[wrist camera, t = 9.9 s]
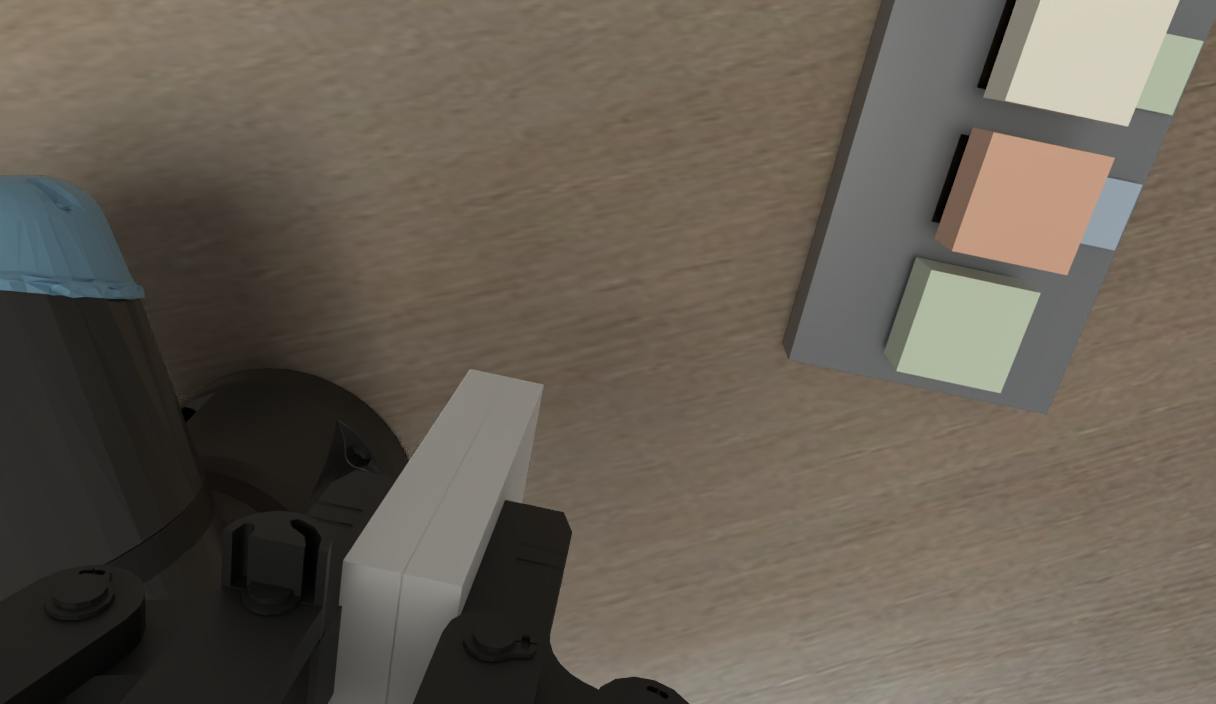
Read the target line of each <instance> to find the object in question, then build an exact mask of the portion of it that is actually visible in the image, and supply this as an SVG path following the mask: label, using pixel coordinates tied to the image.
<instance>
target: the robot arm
mask: <svg viewBox="0 0 1216 704" xmlns="http://www.w3.org/2000/svg"><path fill="white" fill-rule="evenodd" d="M140 298H145V293H144V289H143V287H142V286H141V285H139V284H138V283H136V282H134V281H133V279H132V276H131V274H130V272H129V269H128V267H127V265H126V263H125V260H124V258H123V256H122V253H121V251H120V249H119V246H118V244H117V242H116V239H115V237H114V235H113V232H112V230H111V228H110V225H109V223H108V221H107V218H106V216H105V214H104V212H103V211H102V209H101V207H100V206H99V205H98V203H97V202H96V201H95V200H94V199H93V198H92V197H91V196H90V195H89V194H88V193H87V192H85V191H84V190H83V189H81V188H79V187H78V186H76V185H74V184H72V183H70V182H68V181H65V180H62V179H59V178H54V177H49V176H41V175H11V176H0V704H328V702H329V704H689V703H688V702H687V701H686V700H685V699H683V698H682V697H681V696H680V695H679V694H678V693H677V692H676V691H675V690H673V689H671V688H669V687H667V686H665V685H663V684H661V683H659V682H657V681H655V680H649V679H644V678H638V677H629V678H620V679H615V680H613V681H611V682H609V683H607V684H605V685H604V686H602V687H600V689H599V690H598V689H596V688H594V687H592V686H590V685H588V684H586V683H584V682H583V681H581V680H580V679H578V678H576V677H575V676H573V675H572V674H570V673H569V672H568V671H567V670H566V669H565V668H564V667H563V666H562V665H561V664H560V663H559V661H558V660H557V658H556V657H555V655H554V654H553V651H552V648H551V644H550V633H551V628H552V624H553V619H554V615H555V610H556V606H557V601H558V596H559V592H560V587H561V582H562V577H563V573H564V568H565V563H566V559H567V554H568V549H569V544H570V540H571V535H572V531H571V528H570V526H569V524H568V521H567V519H566V517H565V514H564V512H560V511H555V510H550V509H546V508H541V507H536V506H532V505H527V504H522V501H523V496H524V490H525V485H526V480H527V474H528V469H529V463H530V458H531V452H532V447H533V441H534V436H535V431H536V425H537V420H538V414H539V409H540V403H541V398H542V392H543V387H544V385H543V384H538V383H534V382H529V381H524V380H520V379H515V378H510V377H506V376H501V375H496V374H492V373H487V372H482V371H478V370H473V369H470V370H469V371H468V373H467V374H466V376H465V377H464V379H463V380H462V382H461V383H460V385H459V386H458V388H457V389H456V391H455V392H454V394H453V395H452V397H451V398H450V400H449V401H448V403H447V404H446V406H445V407H444V409H443V410H442V412H441V413H440V415H439V416H438V418H437V420H436V421H435V423H434V424H433V426H432V427H431V429H430V430H429V432H428V433H427V435H426V436H425V438H424V439H423V441H422V442H421V444H420V445H419V447H418V448H417V450H416V451H415V453H414V454H413V456H412V457H411V459H410V460H409V462H408V461H407V458H406V456H405V454H404V452H403V450H402V448H401V446H400V445H399V443H398V441H397V440H396V438H395V437H394V435H393V434H392V432H391V431H390V430H389V428H388V427H387V426H386V425H385V423H384V422H383V421H382V420H381V419H380V418H379V417H378V416H377V415H376V414H375V413H374V412H373V411H372V410H371V409H370V408H368V407H367V406H366V405H365V404H364V403H363V402H361V401H360V400H358V399H357V398H356V397H354V396H353V395H351V394H350V393H348V392H347V391H345V390H343V389H341V388H339V387H338V386H336V385H334V384H332V383H329V382H327V381H325V380H322V379H320V378H317V377H314V376H311V375H308V374H304V373H300V372H295V371H289V370H281V369H256V370H248V371H242V372H238V373H234V374H231V375H228V376H225V377H223V378H220V379H218V380H216V381H214V382H212V383H211V384H209V385H207V386H206V387H204V388H203V389H201V390H200V391H198V392H197V393H196V394H194V395H193V396H191V397H190V398H189V399H187V400H186V401H184V402H183V403H182V404H180V405H179V403H178V400H177V397H176V395H175V392H174V389H173V386H172V384H171V381H170V378H169V376H168V373H167V370H166V367H165V365H164V362H163V359H162V356H161V354H160V351H159V348H158V346H157V343H156V340H155V337H154V335H153V332H152V329H151V326H150V324H149V321H148V318H147V315H146V313H145V310H144V307H143V305H142V302H141V299H140ZM329 700H330V701H329Z"/></svg>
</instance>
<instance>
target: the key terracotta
mask: <svg viewBox="0 0 1216 704" xmlns="http://www.w3.org/2000/svg"><path fill="white" fill-rule="evenodd" d="M1114 159H1115V158H1114V157H1109V156H1105V155H1101V154H1096V153H1092V152H1088V151H1083V150H1079V149H1074V148H1069V147H1064V146H1060V145H1055V144H1050V143H1045V142H1041V141H1036V140H1031V139H1026V138H1022V137H1017V136H1012V135H1007V134H1003V133H998V132H993V131H988V130H984V129H979V128H974V127H973V128H972V131H971V134H970V137H969V140H968V143H967V146H966V149H965V151H964V154H963V157H962V160H961V163H960V166H959V169H958V172H957V175H956V178H955V181H954V183H953V186H952V189H951V192H950V195H949V198H948V201H947V204H946V207H945V210H944V213H943V215H942V218H941V221H940V224H939V227H938V230H937V233H936V236H935V239H936V240H937V241H939V242H940V243H941V244H943V245H944V246H946V247H947V248H948V249H950V250H951V251H954V252H959V253H964V254H969V255H973V256H978V257H983V258H988V259H992V260H997V261H1002V262H1006V263H1011V264H1016V265H1021V266H1025V267H1030V268H1035V269H1039V270H1044V271H1049V272H1054V273H1058V274H1063V275H1067V274H1068V272H1069V269H1070V267H1071V264H1072V262H1073V260H1074V257H1075V255H1076V252H1077V250H1078V247H1079V245H1080V242H1081V240H1082V238H1083V235H1084V233H1085V230H1086V228H1087V225H1088V223H1089V221H1090V218H1091V216H1092V213H1093V211H1094V208H1095V206H1096V203H1097V201H1098V199H1099V196H1100V194H1101V191H1102V189H1103V186H1104V184H1105V181H1106V179H1107V177H1108V174H1109V172H1110V169H1111V167H1112V164H1113V162H1114Z"/></svg>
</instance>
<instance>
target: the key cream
mask: <svg viewBox="0 0 1216 704" xmlns="http://www.w3.org/2000/svg"><path fill="white" fill-rule="evenodd" d="M1179 1H1180V0H1016V3H1015V6H1014V9H1013V12H1012V15H1011V18H1010V21H1009V24H1008V27H1007V29H1006V32H1005V35H1004V38H1003V41H1002V44H1001V47H1000V50H999V53H998V56H997V59H996V61H995V64H994V67H993V70H992V73H991V76H990V79H989V82H988V85H987V88H986V90H985V93H984V96H983V98H987V99H992V100H997V101H1001V102H1006V103H1011V104H1016V105H1020V106H1025V107H1030V108H1035V109H1039V110H1044V111H1049V112H1054V113H1058V114H1063V115H1068V116H1073V117H1077V118H1082V119H1087V120H1092V121H1096V122H1102V123H1109V124H1115V125H1121V126H1128V125H1129V123H1130V120H1131V118H1132V115H1133V113H1134V111H1135V108H1136V106H1137V103H1138V101H1139V98H1140V96H1141V93H1142V91H1143V89H1144V86H1145V84H1146V81H1147V79H1148V76H1149V74H1150V71H1151V69H1152V67H1153V64H1154V62H1155V59H1156V57H1157V54H1158V52H1159V49H1160V47H1161V45H1162V42H1163V40H1164V37H1165V35H1166V32H1167V30H1168V27H1169V25H1170V23H1171V20H1172V18H1173V15H1174V13H1175V10H1176V8H1177V5H1178V3H1179Z"/></svg>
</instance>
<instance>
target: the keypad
mask: <svg viewBox="0 0 1216 704" xmlns="http://www.w3.org/2000/svg"><path fill="white" fill-rule="evenodd" d="M1005 3H1006V0H882V3H881V6H880V10H879V13H878V17H877V20H876V24H875V27H874V30H873V34H872V37H871V41H870V44H869V48H868V51H867V55H866V58H865V61H864V65H863V68H862V72H861V75H860V79H859V82H858V86H857V89H856V92H855V96H854V99H853V103H852V106H851V110H850V113H849V116H848V120H847V123H846V127H845V130H844V134H843V137H842V141H841V144H840V147H839V151H838V154H837V158H836V161H835V165H834V168H833V172H832V175H831V178H830V182H829V185H828V189H827V192H826V196H825V199H824V203H823V206H822V209H821V213H820V216H819V220H818V223H817V227H816V230H815V234H814V237H813V240H812V244H811V247H810V251H809V254H808V258H807V261H806V265H805V268H804V271H803V275H802V278H801V282H800V285H799V289H798V292H797V295H796V299H795V302H794V306H793V309H792V313H791V316H790V320H789V323H788V326H787V330H786V333H785V337H784V340H783V345H784V348H785V351H786V354H787V356H788V359H789V360H792V361H797V362H802V363H806V364H811V365H816V366H820V367H825V368H830V369H834V370H839V371H844V372H849V373H853V374H858V375H863V376H867V377H872V378H877V379H881V380H886V381H891V382H895V383H900V384H905V385H910V386H914V387H919V388H924V389H928V390H933V391H938V392H942V393H947V394H952V395H956V396H961V397H966V398H971V399H975V400H980V401H985V402H989V403H994V404H999V405H1003V406H1008V407H1013V408H1017V409H1022V410H1027V411H1032V412H1036V413H1041V414H1047V412H1048V410H1049V407H1050V405H1051V402H1052V400H1053V398H1054V395H1055V393H1056V391H1057V388H1058V386H1059V384H1060V381H1061V379H1062V377H1063V374H1064V372H1065V370H1066V367H1067V365H1068V363H1069V360H1070V358H1071V356H1072V353H1073V351H1074V349H1075V346H1076V344H1077V342H1078V339H1079V337H1080V335H1081V332H1082V330H1083V327H1084V325H1085V323H1086V320H1087V318H1088V316H1089V313H1090V311H1091V309H1092V306H1093V304H1094V302H1095V299H1096V297H1097V295H1098V292H1099V290H1100V288H1101V285H1102V283H1103V281H1104V278H1105V276H1106V274H1107V271H1108V269H1109V267H1110V264H1111V262H1112V260H1113V257H1114V255H1115V252H1116V250H1117V248H1118V245H1119V243H1120V241H1121V238H1122V236H1123V234H1124V231H1125V229H1126V227H1127V224H1128V222H1129V220H1130V217H1131V215H1132V213H1133V210H1134V208H1135V206H1136V203H1137V201H1138V199H1139V196H1140V194H1141V192H1142V189H1143V187H1144V185H1145V182H1146V180H1147V177H1148V175H1149V173H1150V170H1151V168H1152V166H1153V163H1154V161H1155V159H1156V156H1157V154H1158V152H1159V149H1160V147H1161V145H1162V142H1163V140H1164V138H1165V135H1166V133H1167V131H1168V128H1169V126H1170V124H1171V121H1172V119H1173V117H1174V114H1175V112H1176V110H1177V107H1178V105H1179V102H1180V100H1181V98H1182V95H1183V93H1184V91H1185V88H1186V86H1187V84H1188V81H1189V79H1190V77H1191V74H1192V72H1193V70H1194V67H1195V65H1196V63H1197V60H1198V58H1199V56H1200V53H1201V51H1202V49H1203V46H1204V44H1205V42H1206V39H1207V37H1208V35H1209V32H1210V30H1211V27H1212V25H1213V23H1214V20H1215V18H1216V0H1180V1H1179V3H1178V5H1177V8H1176V10H1175V13H1174V15H1173V18H1172V20H1171V23H1170V25H1169V27H1168V30H1167V32H1166V35H1165V37H1164V40H1163V42H1162V45H1161V47H1160V49H1159V52H1158V54H1157V57H1156V59H1155V62H1154V64H1153V67H1152V69H1151V71H1150V74H1149V76H1148V79H1147V81H1146V84H1145V86H1144V89H1143V91H1142V93H1141V96H1140V98H1139V101H1138V103H1137V106H1136V108H1135V111H1134V113H1133V115H1132V118H1131V120H1130V123H1129V125H1128V126H1121V125H1115V124H1109V123H1102V122H1096V121H1092V120H1087V119H1082V118H1077V117H1073V116H1068V115H1063V114H1058V113H1054V112H1049V111H1044V110H1039V109H1035V108H1030V107H1025V106H1020V105H1016V104H1011V103H1006V102H1001V101H997V100H992V99H987V98H983V96H984V93H985V90H986V89H981V88H977V86H978V83H979V80H980V77H981V74H982V71H983V68H984V65H985V62H986V59H987V56H988V53H989V50H990V47H991V44H992V41H993V38H994V36H995V33H996V30H997V27H998V24H999V21H1000V18H1001V15H1002V12H1003V9H1004V6H1005ZM973 127H974V128H979V129H984V130H988V131H993V132H998V133H1003V134H1007V135H1012V136H1017V137H1022V138H1026V139H1031V140H1036V141H1041V142H1045V143H1050V144H1055V145H1060V146H1064V147H1069V148H1074V149H1079V150H1083V151H1088V152H1092V153H1096V154H1101V155H1105V156H1109V157H1114V158H1115V159H1114V162H1113V164H1112V167H1111V169H1110V172H1109V174H1108V177H1107V179H1106V181H1105V184H1104V186H1103V189H1102V191H1101V194H1100V196H1099V199H1098V201H1097V203H1096V206H1095V208H1094V211H1093V213H1092V216H1091V218H1090V221H1089V223H1088V225H1087V228H1086V230H1085V233H1084V235H1083V238H1082V240H1081V242H1080V245H1079V247H1078V250H1077V252H1076V255H1075V257H1074V260H1073V262H1072V264H1071V267H1070V269H1069V272H1068V274H1067V275H1063V274H1058V273H1054V272H1049V271H1044V270H1039V269H1035V268H1030V267H1025V266H1021V265H1016V264H1011V263H1006V262H1002V261H997V260H992V259H988V258H983V257H978V256H973V255H969V254H964V253H959V252H954V251H951V250H950V249H948V248H947V247H946V246H944V245H943V244H941V243H940V242H939V241H937V240H936V239H935V236H936V233H937V230H938V227H939V224H940V221H941V218H942V217H938V216H934V212H935V209H936V206H937V203H938V200H939V197H940V194H941V191H942V188H943V185H944V183H945V180H946V177H947V174H948V171H949V168H950V165H951V162H952V159H953V156H954V153H955V150H956V147H957V144H958V141H959V138H960V135H961V134H964V135H968V136H970V134H971V131H972V128H973ZM916 257H918V258H923V259H928V260H933V261H937V262H942V263H947V264H951V265H956V266H961V267H966V268H970V269H975V270H980V271H984V272H989V273H994V274H999V275H1003V276H1008V277H1013V278H1017V279H1020V280H1022V281H1023V282H1025V283H1026V284H1028V285H1029V286H1031V287H1032V288H1034V289H1035V290H1037V291H1038V292H1040V293H1041V294H1040V296H1039V299H1038V301H1037V304H1036V306H1035V309H1034V311H1033V314H1032V316H1031V319H1030V321H1029V324H1028V326H1027V329H1026V331H1025V334H1024V336H1023V339H1022V341H1021V344H1020V346H1019V349H1018V351H1017V354H1016V356H1015V359H1014V361H1013V364H1012V366H1011V369H1010V371H1009V374H1008V376H1007V379H1006V381H1005V384H1004V386H1003V389H1002V391H1001V393H997V392H992V391H987V390H983V389H978V388H973V387H969V386H964V385H959V384H955V383H950V382H945V381H940V380H936V379H931V378H926V377H922V376H917V375H912V374H908V373H903V372H898V371H896V370H895V369H894V367H893V366H892V364H891V363H890V361H889V360H888V358H887V357H886V356H885V354H884V351H885V348H886V345H887V342H888V339H889V336H890V333H891V330H892V327H893V324H894V321H895V318H896V315H897V312H898V309H899V306H900V304H901V301H902V298H903V295H904V292H905V289H906V286H907V283H908V280H909V277H910V274H911V271H912V268H913V265H914V262H915V259H916Z"/></svg>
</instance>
